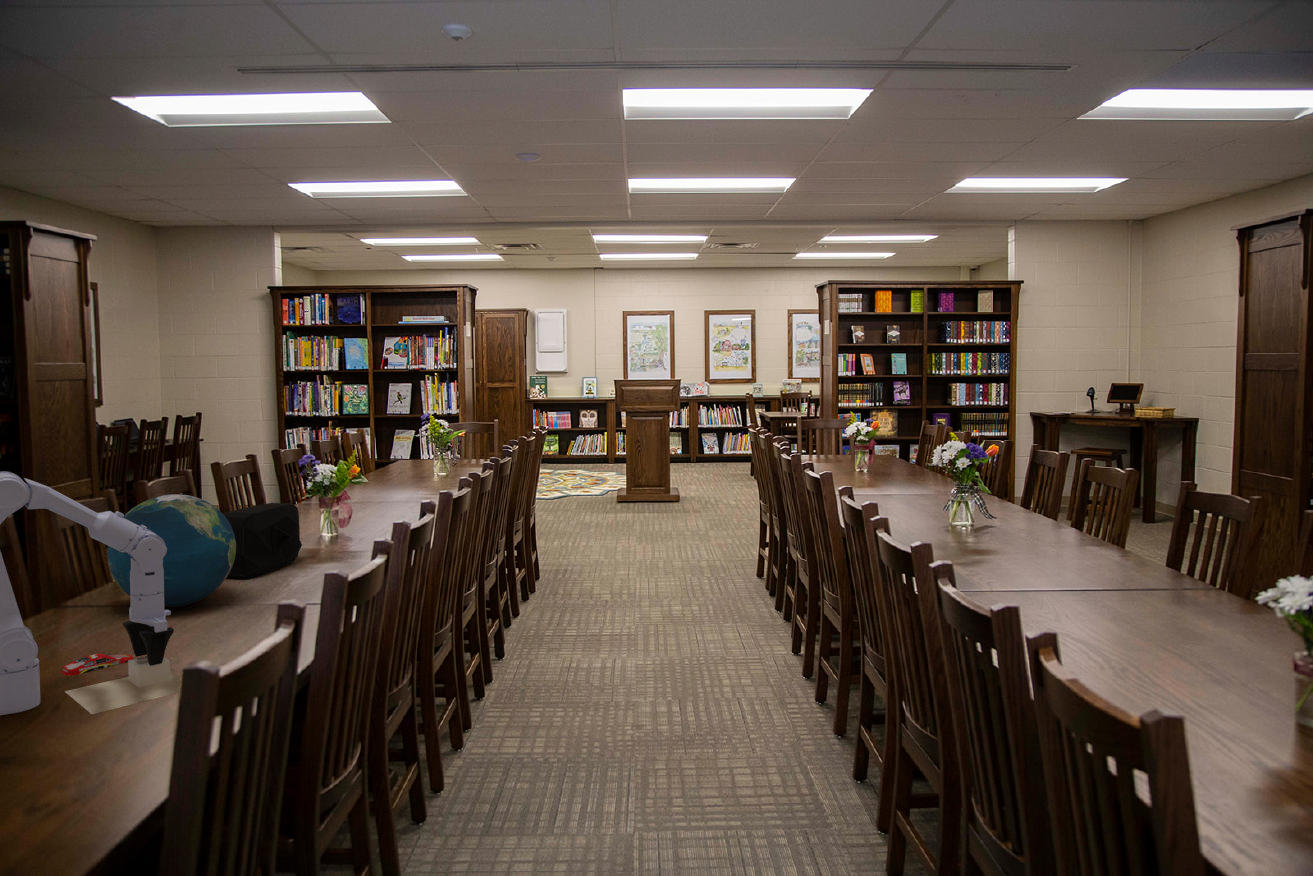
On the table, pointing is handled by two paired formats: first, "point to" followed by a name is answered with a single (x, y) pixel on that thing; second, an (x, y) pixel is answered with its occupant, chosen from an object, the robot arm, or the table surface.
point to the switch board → (121, 693)
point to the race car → (94, 663)
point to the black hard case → (264, 538)
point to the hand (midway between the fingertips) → (148, 659)
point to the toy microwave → (147, 672)
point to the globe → (182, 547)
